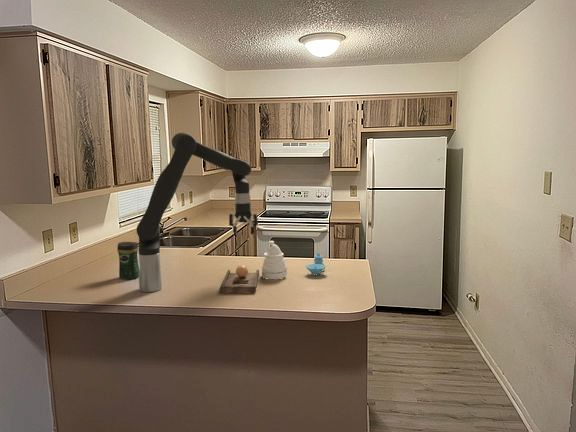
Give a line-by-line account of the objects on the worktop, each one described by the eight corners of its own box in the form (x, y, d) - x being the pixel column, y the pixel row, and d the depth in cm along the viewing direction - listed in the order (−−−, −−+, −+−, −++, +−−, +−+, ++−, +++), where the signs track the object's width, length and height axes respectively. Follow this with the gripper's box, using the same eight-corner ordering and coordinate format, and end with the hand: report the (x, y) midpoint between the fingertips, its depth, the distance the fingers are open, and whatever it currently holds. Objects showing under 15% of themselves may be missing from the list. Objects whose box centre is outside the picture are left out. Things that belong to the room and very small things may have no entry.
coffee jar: (142, 275, 227) (140, 240, 224) (134, 280, 219) (131, 243, 216) (125, 274, 229) (123, 240, 226) (116, 279, 221) (114, 243, 218)
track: (220, 293, 197) (220, 286, 197) (228, 275, 225) (227, 270, 225) (255, 292, 198) (255, 286, 197) (259, 275, 225) (259, 269, 225)
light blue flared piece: (324, 278, 220) (324, 260, 218) (303, 277, 222) (303, 259, 221) (329, 268, 237) (329, 252, 236) (310, 267, 239) (310, 251, 238)
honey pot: (256, 276, 223) (256, 242, 220) (274, 271, 232) (274, 238, 230) (274, 281, 214) (274, 245, 212) (292, 276, 224) (292, 241, 221)
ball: (235, 279, 214) (235, 267, 213) (236, 275, 220) (236, 263, 219) (247, 278, 214) (247, 266, 213) (248, 275, 220) (248, 263, 219)
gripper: (226, 203, 215) (228, 235, 218) (254, 202, 213) (256, 235, 215) (231, 201, 223) (232, 232, 225) (258, 201, 220) (259, 232, 223)
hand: (244, 234), depth 220 cm, fingers open, 8 cm apart
